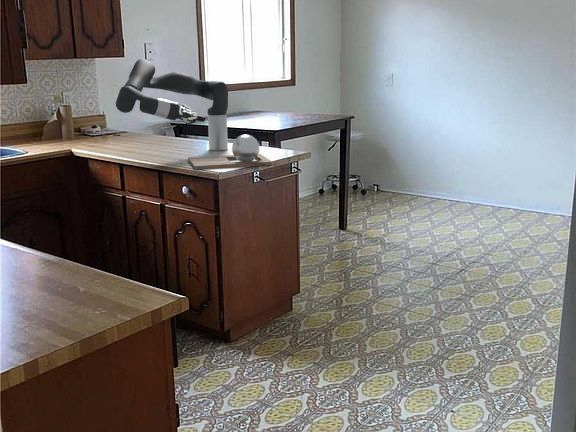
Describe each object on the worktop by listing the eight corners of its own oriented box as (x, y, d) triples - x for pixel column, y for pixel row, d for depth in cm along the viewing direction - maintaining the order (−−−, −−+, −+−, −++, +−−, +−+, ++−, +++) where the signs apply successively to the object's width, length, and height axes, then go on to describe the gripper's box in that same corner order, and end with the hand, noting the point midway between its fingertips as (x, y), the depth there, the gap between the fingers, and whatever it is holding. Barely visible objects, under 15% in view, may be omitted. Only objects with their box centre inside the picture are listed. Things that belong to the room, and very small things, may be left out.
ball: (248, 127, 278) (260, 151, 283) (224, 141, 277) (237, 164, 281) (254, 131, 267) (267, 155, 272) (229, 145, 266) (243, 169, 270)
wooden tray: (188, 160, 280) (187, 157, 279) (260, 156, 289) (259, 153, 288) (195, 169, 259) (194, 166, 259) (272, 165, 268) (272, 161, 268)
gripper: (171, 110, 250) (211, 120, 259) (166, 93, 259) (204, 103, 268) (165, 125, 254) (204, 135, 263) (160, 108, 263) (198, 117, 272)
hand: (204, 119), depth 265 cm, fingers closed
